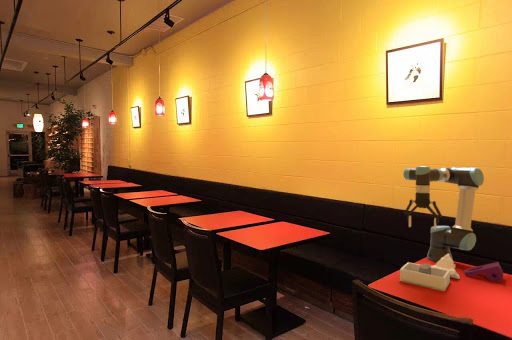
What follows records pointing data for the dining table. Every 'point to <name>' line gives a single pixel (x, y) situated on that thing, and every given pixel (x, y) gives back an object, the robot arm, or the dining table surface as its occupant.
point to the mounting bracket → (487, 271)
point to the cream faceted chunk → (447, 266)
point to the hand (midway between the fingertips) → (422, 228)
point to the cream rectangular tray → (425, 277)
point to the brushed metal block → (425, 269)
